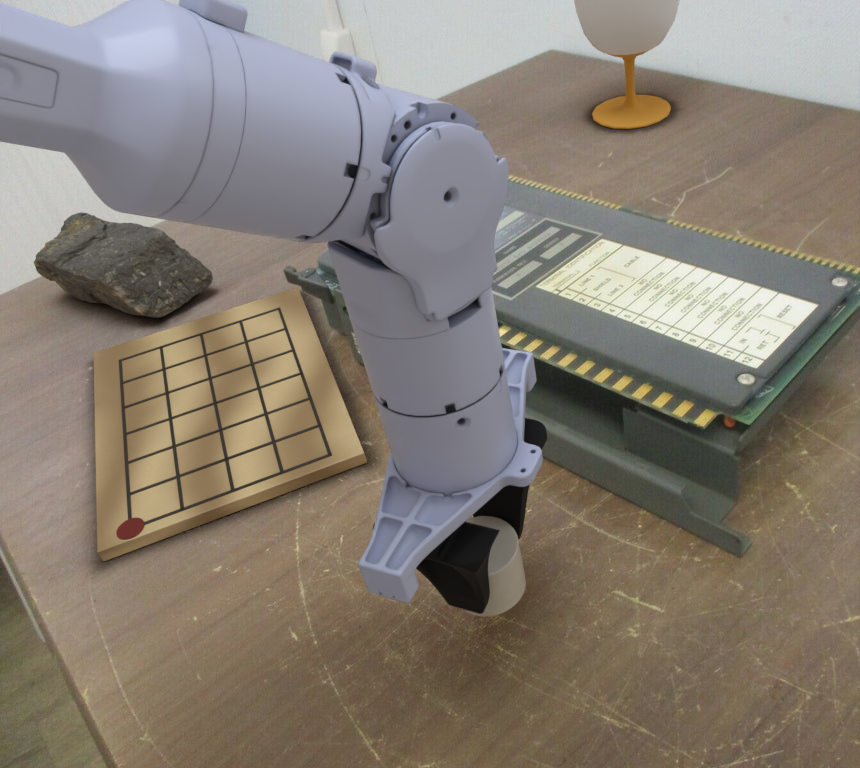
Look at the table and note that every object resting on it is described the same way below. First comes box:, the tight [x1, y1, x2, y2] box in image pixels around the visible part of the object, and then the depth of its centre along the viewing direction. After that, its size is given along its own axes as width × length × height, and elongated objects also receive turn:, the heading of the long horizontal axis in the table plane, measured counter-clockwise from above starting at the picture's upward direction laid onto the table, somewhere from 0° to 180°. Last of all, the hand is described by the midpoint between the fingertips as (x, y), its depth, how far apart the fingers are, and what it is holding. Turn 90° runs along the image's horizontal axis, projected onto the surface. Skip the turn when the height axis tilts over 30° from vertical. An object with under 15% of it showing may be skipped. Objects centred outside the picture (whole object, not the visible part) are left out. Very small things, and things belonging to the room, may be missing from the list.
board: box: [93, 286, 368, 562], centre depth 65 cm, size 18×24×1 cm
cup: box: [573, 0, 680, 130], centre depth 91 cm, size 12×12×17 cm
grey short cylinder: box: [462, 516, 527, 618], centre depth 44 cm, size 4×4×3 cm
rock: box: [33, 211, 214, 318], centre depth 78 cm, size 17×7×10 cm
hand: (485, 569), depth 44 cm, fingers closed on grey short cylinder, 4 cm apart
